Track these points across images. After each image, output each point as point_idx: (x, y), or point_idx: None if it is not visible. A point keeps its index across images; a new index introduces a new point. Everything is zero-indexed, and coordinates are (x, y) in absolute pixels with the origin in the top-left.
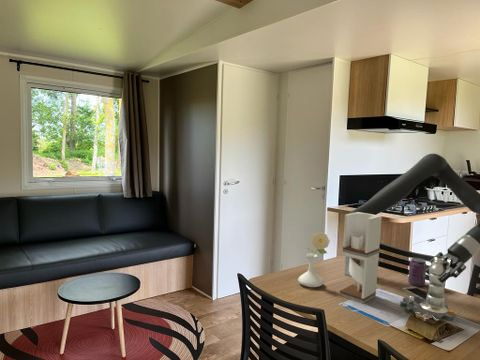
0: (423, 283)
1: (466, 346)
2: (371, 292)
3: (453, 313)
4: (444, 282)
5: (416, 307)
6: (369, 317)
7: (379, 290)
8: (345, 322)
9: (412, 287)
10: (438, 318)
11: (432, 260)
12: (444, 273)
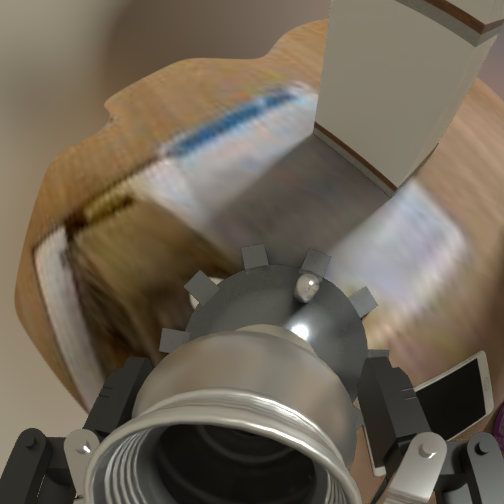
0: (499, 443)
1: (36, 318)
2: (367, 155)
3: None
4: (194, 441)
5: (261, 298)
6: (212, 121)
7: (448, 239)
8: (192, 76)
9: (488, 395)
10: (161, 340)
11: (474, 465)
12: (106, 417)
